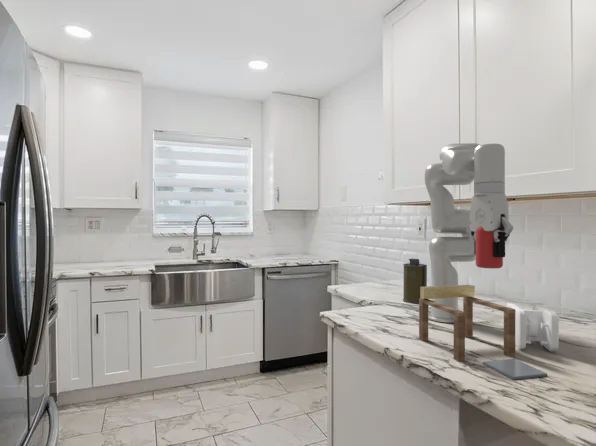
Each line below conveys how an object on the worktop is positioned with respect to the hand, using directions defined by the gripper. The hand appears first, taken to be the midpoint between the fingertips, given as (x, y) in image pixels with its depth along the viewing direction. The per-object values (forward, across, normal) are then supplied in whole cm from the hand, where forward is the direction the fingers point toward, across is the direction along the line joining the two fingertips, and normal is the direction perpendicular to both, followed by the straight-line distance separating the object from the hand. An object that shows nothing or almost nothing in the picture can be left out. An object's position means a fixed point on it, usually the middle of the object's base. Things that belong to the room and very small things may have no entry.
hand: (489, 255), depth 101 cm
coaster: (+28, +7, +1) cm, 29 cm away
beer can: (+3, 0, 0) cm, 3 cm away
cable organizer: (+28, -8, +21) cm, 36 cm away
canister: (+28, -73, +19) cm, 80 cm away
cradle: (+28, -10, 0) cm, 30 cm away
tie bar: (+15, -18, 0) cm, 23 cm away
